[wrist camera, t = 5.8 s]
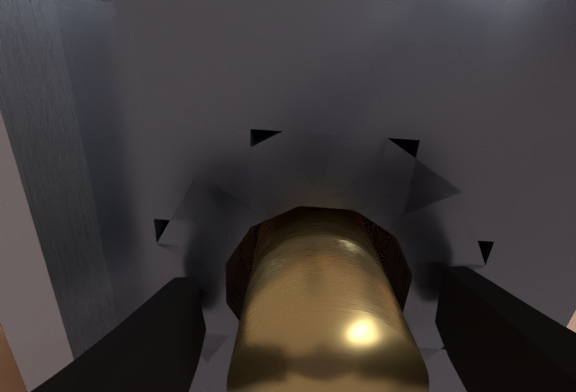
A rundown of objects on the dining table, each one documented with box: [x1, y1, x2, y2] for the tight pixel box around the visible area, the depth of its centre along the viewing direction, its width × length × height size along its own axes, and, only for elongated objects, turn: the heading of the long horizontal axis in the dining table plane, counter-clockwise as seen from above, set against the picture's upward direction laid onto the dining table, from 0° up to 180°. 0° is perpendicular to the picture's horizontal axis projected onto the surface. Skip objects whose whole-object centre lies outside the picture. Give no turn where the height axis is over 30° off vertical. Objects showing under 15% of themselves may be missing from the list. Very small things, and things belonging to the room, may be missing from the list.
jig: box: [0, 0, 576, 392], centre depth 10 cm, size 16×16×4 cm
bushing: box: [226, 206, 429, 392], centre depth 9 cm, size 4×4×6 cm
